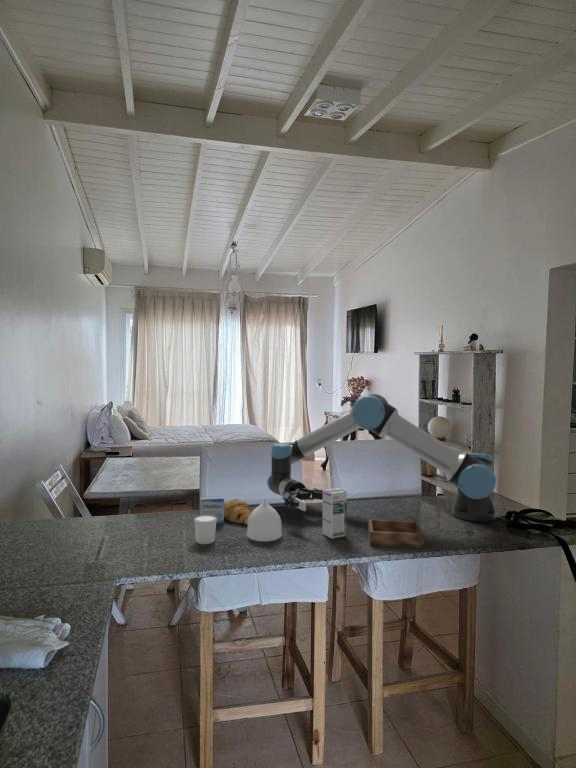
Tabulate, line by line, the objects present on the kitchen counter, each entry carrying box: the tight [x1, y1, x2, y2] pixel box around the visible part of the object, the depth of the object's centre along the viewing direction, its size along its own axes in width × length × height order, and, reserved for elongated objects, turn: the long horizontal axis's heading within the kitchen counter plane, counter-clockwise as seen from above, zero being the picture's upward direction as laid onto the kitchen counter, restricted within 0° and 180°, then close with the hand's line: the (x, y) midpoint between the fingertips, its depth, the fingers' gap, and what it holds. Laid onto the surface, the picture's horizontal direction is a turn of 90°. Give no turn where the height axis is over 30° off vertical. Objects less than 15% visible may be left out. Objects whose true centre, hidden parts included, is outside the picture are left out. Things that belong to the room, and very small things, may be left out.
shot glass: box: [193, 515, 217, 545], centre depth 154 cm, size 7×7×7 cm
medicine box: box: [199, 495, 225, 525], centre depth 172 cm, size 8×4×9 cm, turn 104°
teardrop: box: [246, 498, 283, 542], centre depth 160 cm, size 11×11×12 cm
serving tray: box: [367, 518, 425, 549], centre depth 157 cm, size 16×13×4 cm
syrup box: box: [322, 487, 348, 540], centre depth 161 cm, size 6×6×14 cm
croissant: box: [224, 498, 253, 526], centre depth 177 cm, size 21×10×8 cm, turn 35°
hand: (323, 504), depth 166 cm, fingers open, 13 cm apart
